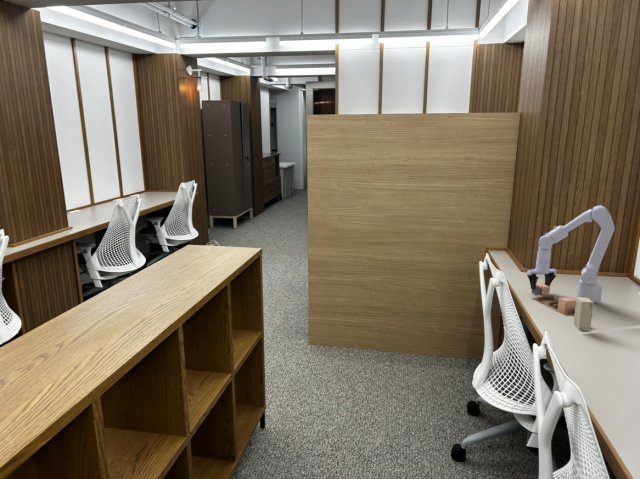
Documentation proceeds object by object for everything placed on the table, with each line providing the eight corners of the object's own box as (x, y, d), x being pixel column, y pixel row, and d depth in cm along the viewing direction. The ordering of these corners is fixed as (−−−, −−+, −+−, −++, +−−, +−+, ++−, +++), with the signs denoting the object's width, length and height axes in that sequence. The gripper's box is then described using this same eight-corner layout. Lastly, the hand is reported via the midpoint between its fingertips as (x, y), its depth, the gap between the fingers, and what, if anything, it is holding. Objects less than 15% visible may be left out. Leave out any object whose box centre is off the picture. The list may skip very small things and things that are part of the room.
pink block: (570, 307, 205) (571, 296, 204) (578, 311, 201) (579, 300, 200) (556, 308, 204) (557, 297, 203) (564, 312, 199) (565, 301, 198)
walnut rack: (555, 298, 220) (555, 293, 219) (592, 315, 199) (592, 310, 198) (530, 300, 217) (531, 295, 216) (566, 318, 196) (566, 312, 195)
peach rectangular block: (538, 292, 228) (539, 282, 227) (548, 297, 222) (550, 286, 221) (530, 293, 227) (531, 283, 226) (540, 297, 221) (541, 287, 220)
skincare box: (590, 332, 181) (594, 302, 179) (577, 331, 182) (581, 301, 179) (584, 326, 187) (588, 297, 185) (572, 325, 188) (576, 296, 186)
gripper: (550, 258, 226) (547, 285, 229) (524, 259, 223) (521, 286, 226) (560, 261, 220) (557, 289, 223) (534, 263, 216) (530, 291, 219)
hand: (539, 288), depth 224 cm, fingers open, 7 cm apart
